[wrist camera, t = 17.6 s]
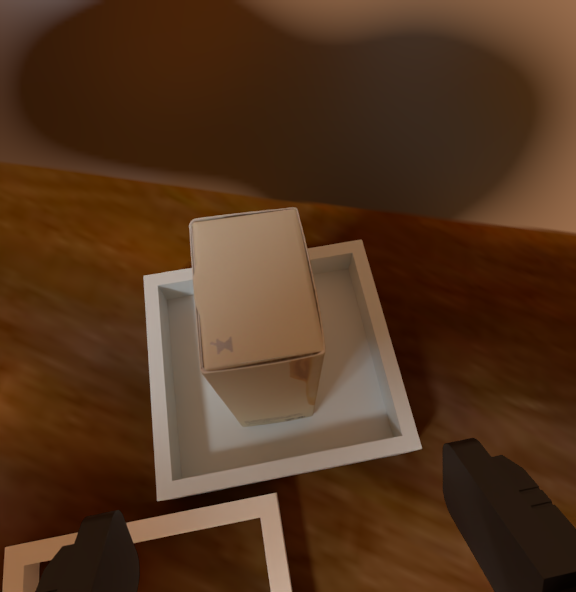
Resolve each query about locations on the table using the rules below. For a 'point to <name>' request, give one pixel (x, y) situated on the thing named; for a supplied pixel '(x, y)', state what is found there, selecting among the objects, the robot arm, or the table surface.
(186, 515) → the holder
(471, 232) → the table surface
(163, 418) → the tray
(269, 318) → the skincare box
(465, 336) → the table surface
